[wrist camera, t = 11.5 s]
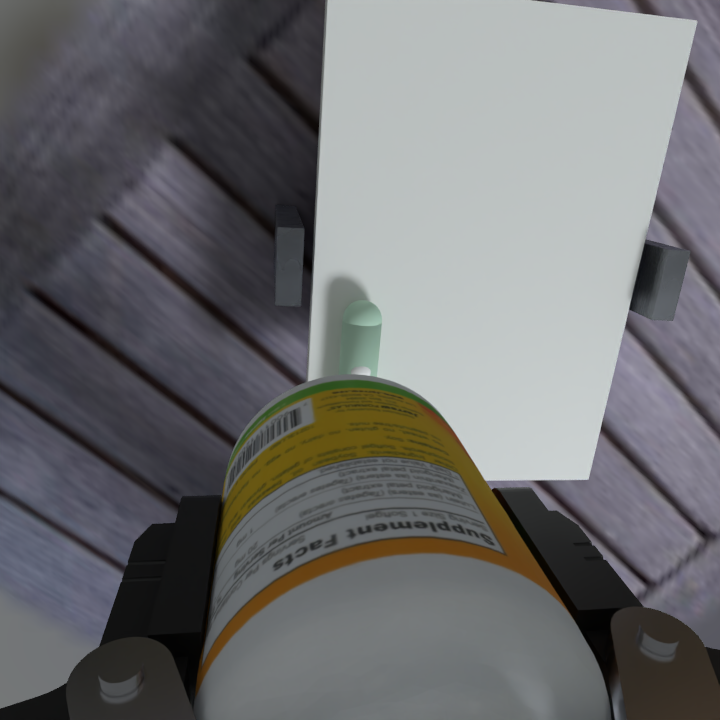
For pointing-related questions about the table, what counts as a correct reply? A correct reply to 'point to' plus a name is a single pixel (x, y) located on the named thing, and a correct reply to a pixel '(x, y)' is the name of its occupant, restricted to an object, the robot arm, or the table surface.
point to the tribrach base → (649, 299)
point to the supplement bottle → (378, 576)
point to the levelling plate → (489, 210)
